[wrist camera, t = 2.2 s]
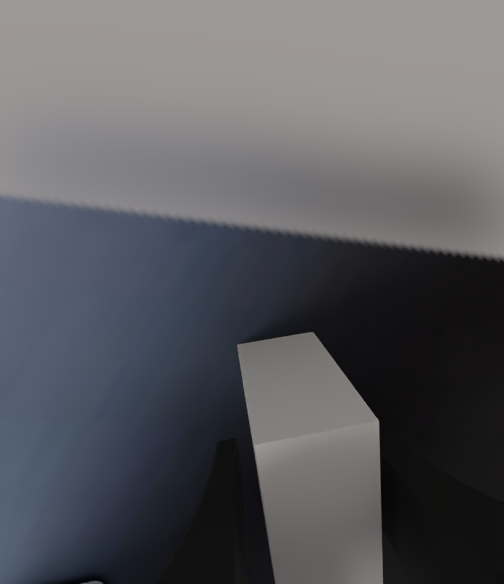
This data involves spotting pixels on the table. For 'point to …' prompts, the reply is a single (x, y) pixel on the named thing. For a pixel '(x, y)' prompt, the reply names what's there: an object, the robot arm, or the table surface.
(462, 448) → the table surface
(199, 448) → the table surface
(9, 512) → the table surface
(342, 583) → the rectangular block
